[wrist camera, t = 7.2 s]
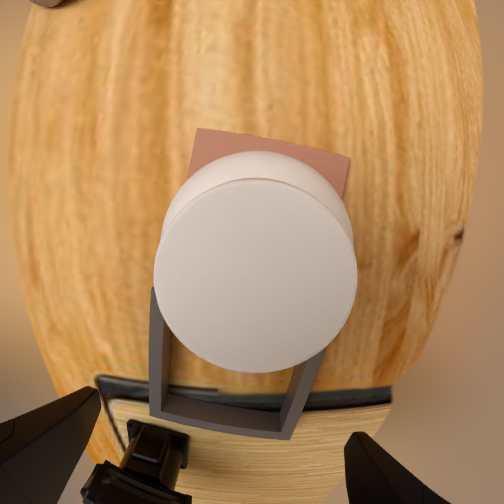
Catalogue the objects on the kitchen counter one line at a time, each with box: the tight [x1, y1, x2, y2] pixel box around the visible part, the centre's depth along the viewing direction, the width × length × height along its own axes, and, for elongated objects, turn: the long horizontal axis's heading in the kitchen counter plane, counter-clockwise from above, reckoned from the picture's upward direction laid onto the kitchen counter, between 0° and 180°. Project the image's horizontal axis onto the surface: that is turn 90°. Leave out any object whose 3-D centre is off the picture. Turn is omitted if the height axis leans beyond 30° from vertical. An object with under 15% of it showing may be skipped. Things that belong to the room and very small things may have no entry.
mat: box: [188, 128, 350, 199], centre depth 19 cm, size 10×10×1 cm
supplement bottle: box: [154, 151, 358, 373], centre depth 13 cm, size 7×7×13 cm
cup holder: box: [149, 287, 326, 440], centre depth 21 cm, size 12×12×2 cm
